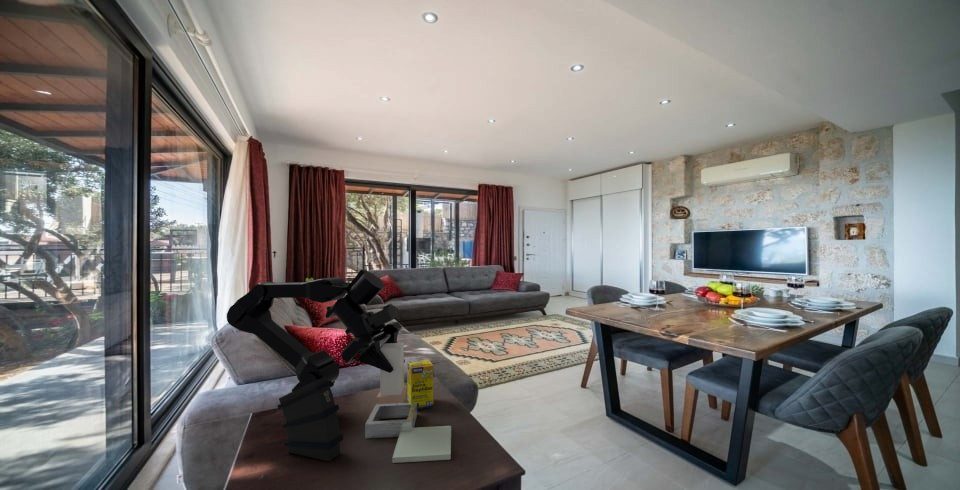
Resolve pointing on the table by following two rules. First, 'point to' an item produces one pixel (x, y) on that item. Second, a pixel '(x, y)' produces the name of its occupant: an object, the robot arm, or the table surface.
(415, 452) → the sage pad
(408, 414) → the holder collar
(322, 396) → the black ridged block stack
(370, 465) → the table surface
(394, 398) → the plug
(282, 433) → the table surface
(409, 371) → the supplement box
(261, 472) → the table surface
